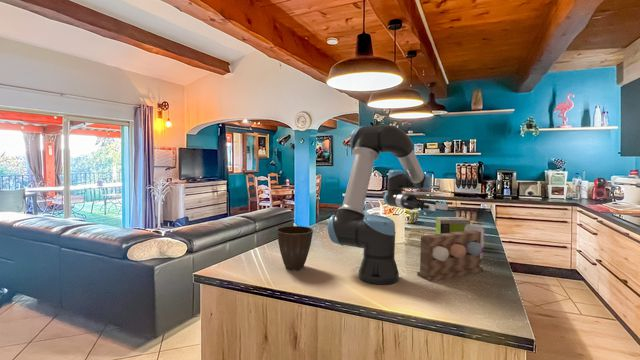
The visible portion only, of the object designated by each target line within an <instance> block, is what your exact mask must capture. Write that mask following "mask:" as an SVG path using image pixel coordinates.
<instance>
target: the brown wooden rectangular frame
mask: <svg viewBox="0 0 640 360" xmlns="http://www.w3.org/2000/svg"><path fill="white" fill-rule="evenodd" d="M467 241H473V242H476V243H480V244H481V232H479V231H475V230H469V231H460V232H452V233H443V234H436V233H435V234H428V235H421V236H420V255H419V258H420V259H419V271H417V272H416V273H417V274H416V276H417V277H419V278H421V279H423V280H426V281H427V282H429V283H430V282H436V281H441V280H446V279H451V278H452V279H453V278H456V277H463V276H467V275H471V274H476V273H477V274H478V273H482V272H483V270H484V269H483V268H484V267H481V265H480V263H481V259H480V255H478V256H476V255H473V254H469V253H467ZM453 243H455V244H459V245H462V246H464V247H465V249H466V253H465V256H464V257H463V258H457V257H454V256H451V255H450V244H453ZM433 246H440V247H443V248H446V249H447V250H448V252H449V255H448V258H447V259H446V260H445V261H440V260H437V259H435V258H432V254H433Z"/></svg>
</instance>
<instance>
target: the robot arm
mask: <svg viewBox="0 0 640 360" xmlns="http://www.w3.org/2000/svg"><path fill="white" fill-rule="evenodd" d="M349 148H350V150H351V151H352V154H353V157H354V158H353V161H352V167H351V170H350V174H349V177H348V178H349V179H348V183H347V186H346V191H345V194H344V198H343V202H342V205H341V206H339V208H337V211H336V214H332V215H331V216H330V217H329V220H328V222H327V233H328V236H329V239H330V241H331V242H332V243H333V244H337V245H341V246H349V247H354V248H358V249H363V257H362V260H361V264H360V267H359V269H358V279H360V280H361V281H362V282H365V283H369V284H372V285H391V284H395V283H397V282H398V281H400V280H399V279H400V272H399V269H398V265H397V262H396V258H395V257H396V256H395V252H396V251H395V250H396V248H395V247H396V234H397V233H396V224H395V221H394V220H393V219H392V218H389V217H387V216H383V215H379V214H378V215H377V214H366V215H365V212H364V211H363V210H364V208H365V201H366V199H367V193H368V189H369V184H370V180H371V175H372V171H373V167H374V162H375V161H376V160H378V159H379V157H380V153H391V154H393V156H394V157H396V158H397V159H398V161H399V163H400V165H401V167H402V168H403V170H404V171H403V170H401V169H390V170H388V177H387V191H386V192H385V193H384V195H383V202H384V203H385V204H386V205H388V206H391V207H395V208H400V209H402V210H404V209H406V210H409V211H412V210H414V209H417V210H419V209H420V211H424V210H426V211H432V212H436V209H438V210H442V211H443V210H444V211H448V210H449V209H448V206H449V205H448V203H443V202H440V201H439V200H436V201H434V200H427V199H420V198H417V196H416V195H414V194H410V193H403V189H414V190H429V189H431V186H432V176H431V175H430V174H425V173H424V172H423V169H422V167H421V165H420V162H419V160H418V158H417V156H416V154H415V151H414V143H413V140H412V139H411V138H410V136H409V135H408V134H407V133H406V132H405V131H403V130H402V129H401V128H399V127H397V126H395V125H390V124H383V125H381V124H380V125H362V126H358V127H355V128H354V129H353V130H352V132H351V135H350V137H349ZM404 172H405V173H404Z"/></svg>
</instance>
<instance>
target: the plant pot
mask: <svg viewBox="0 0 640 360" xmlns="http://www.w3.org/2000/svg"><path fill="white" fill-rule="evenodd" d="M313 232H314V229H313V228H312V227H308V226H304V225H303V226H301V225H290V226H282V227H279V228H277V229H276V235H277V243H278V248H279V251H280V255H281V259H282V261H283V264H284V267H285V269H287V270H288V271H300V270H302V269H303V268H304V266H305V264H306V262H307V258H308V255H309V253H310V248H311V243H312V240H313Z"/></svg>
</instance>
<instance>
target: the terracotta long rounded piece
mask: <svg viewBox="0 0 640 360" xmlns="http://www.w3.org/2000/svg"><path fill="white" fill-rule="evenodd" d="M465 253H466V249H465V247H464V246H462V245H459V244H455V243H453V244H450V255H451V256H454V257H457V258H463V257H464V256H465Z"/></svg>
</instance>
